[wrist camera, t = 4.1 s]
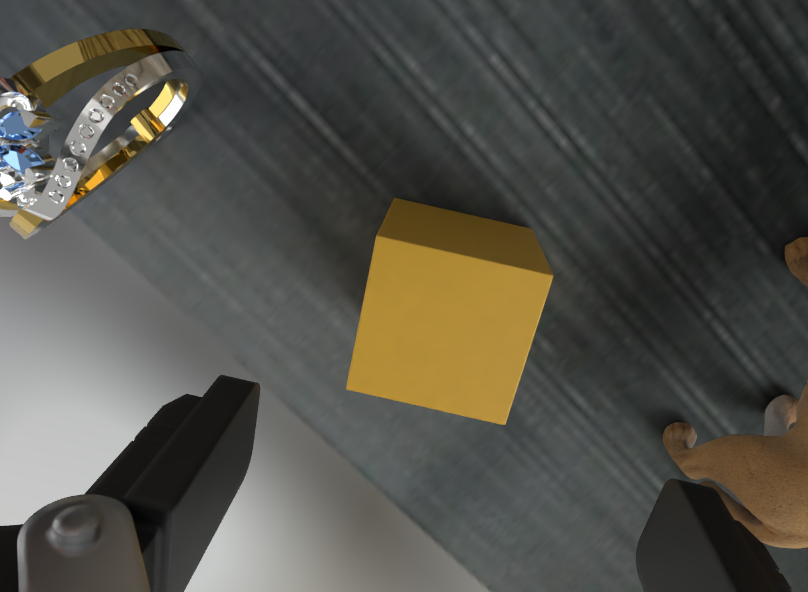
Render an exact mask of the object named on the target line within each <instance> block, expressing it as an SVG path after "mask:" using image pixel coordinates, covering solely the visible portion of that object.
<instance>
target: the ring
mask: <svg viewBox="0 0 808 592" xmlns="http://www.w3.org/2000/svg"><path fill="white" fill-rule="evenodd" d="M130 64H131V65H130ZM125 65H130V66H128V67H126V68H125V69H123V70H122V71H120V72H119V73H118V74H116V75H115V76H114V77H112V78H111V79H110V80H109V81H108V82H107V83H106V84H105V85H104V86H103V87H102V88H101V89H100V90H99V91H98V92H97V93H96V94H95V95H94V96H93V97H92V99H91V100H90V101H89V103H88V104H87V105H86V107H85V108H84V109H83V111H82V112H81V114H80V115H79V117H78V119H77V120H76V122H75V124H74V126H73V127H72V129H71V131H70V133H69V135H68V137H67V139H66V141H65V143H64V146H63V148H62V150H61V153H60V155H59V157H58V160H56V161H55V160H54V159H53V158H52V156H51V155H50V154H49V153H48V152H49V133H50V132H51V130H54V131H56V129H57V128H58V127H59V125H60V124H61V122H62V119H61V118H60V117H58V116H56V115H53V114H50V113H46V111H45V108H48V107H50V106H51V105H52V104H53V103H54V102H55V101H57V100H58V99H59V98H60V97H62V96H63V95H64V94H66V93H67V92H68V91H70V90H71V89H73V88H74V87H76V86H77V85H79V84H81V83H83V82H84V81H86V80H88V79H90V78H92V77H94V76H96V75H98V74H101V73H103V72H105V71H108V70H111V69H114V68H117V67H121V66H125ZM166 80H167V82H166V84H165V87H164V88H163V90H162V92H161V94H160V95H159V96H158V98H157V99H156V100H155V102H154V103H153V104H152V105H151V106H150V108H145V109H144V110H142V111H141V112H140V113H139V114H137V115H136V116H135V117H134V118H133V119H132V120H131V122H130V124H131V126H130V127H129V128H128V129H127V130H126V131H125V132H123V133H122V134H121V135H120V136H119V137H118V138H116V139H115V140H114V141H113V142H111V143H110V144H109V145H108V146H106V147H105V148H104V149H102V150H101V151H100V152H98V153H97V154H96V155H94V156H93V157H91V158H90V159H89V157H90V155H91V153H92V151H93V149H94V147H95V145H96V143H97V142H98V140H99V138H100V136H101V135H102V133H103V131H104V130H105V128H106V127H107V125H108V124H109V123H110V121H111V120H112V119H113V117H114V116H115V115H116V114H117V113H118V112H119V110H120V109H121V108H122V107H123V106H124V105H125V104H126V103H128V102H129V101H130V100H131V99H132V98H134V97H135V96H136V95H138V94H139V93H141V92H142V91H144V90H145V89H147V88H149V87H151V86H153V85H155V84H158V83H160V82H163V81H166ZM202 83H203V74H202V72H201V70H200V69H199V68H198V66H197V65H196V64H195V62H194V61H193V60H192V58H191V57H190V56H189V55H188V54H187V52H186V51H185V50H184V49H183V47H182V46H181V45H180V44H179V43H178V41H176V40H175V39H174V38H173V37H171V36H169V35H167V34H165V33H162V32H158V31H154V30H147V29H127V30H119V31H113V32H108V33H103V34H99V35H96V36H92V37H89V38H86V39H83V40H80V41H77V42H75V43H72V44H70V45H67V46H65V47H63V48H61V49H59V50H56V51H54V52H52V53H50V54H48V55H46V56H45V57H43V58H41V59H39V60H37V61H36V62H34V63H32V64H31V65H29V66H27V67H26V68H24V69H23V70H21V71H20V72H18V73H17V74H15V75H14V76H12V77H11V78H9V79H6V78H0V112H1V111H2V110H3V109H4V108H6V107H8V106H14V107H16V108H17V109H18V110H19V111H15V112H11V113H9V114H7V115H6V116H4V117H3V118H2V119H1V120H0V217H12V216H14V218H13V219H12V221H11V222H10V224H9V226H10V227H11V228H12V229H14V230H15V231H16V232H17V233H18V234H20V235H21V236H22V237H23V238H24V239H28V238H30V237H31V236H33V235H34V234H36V233H37V232H39V231H40V230H42V229H43V228H44V227H46V226H47V225H49V224H50V223H52V222H53V221H54V220H56V219H57V218H59V217H60V216H61V215H63V214H64V213H66V212H67V211H68V210H70V209H71V208H73V207H74V206H75V205H77V204H78V203H79V202H81V201H82V200H84V199H85V198H86V197H88V196H89V195H90V194H92V193H93V192H94V191H96V190H97V189H98V188H99V187H101V186H102V185H103V184H105V183H106V182H107V181H109V180H110V179H111V178H112V177H114V176H115V175H116V174H117V173H119V172H120V171H121V170H122V169H124V168H125V167H126V166H127V165H129V164H130V163H131V162H132V161H133V160H135V159H136V158H137V157H138V156H139V155H140V154H142V153H143V152H144V151H145V150H146V149H148V148H149V147H150V146H151V145H152V144H153V143H154V142H155V141H157V142H158V141H160V140H161V139H163V138H164V137H165V136H166V135H167V134H169V133H170V132H171V131H172V130H173V128H174V126H173V125H174V124H175V123H176V122H177V121H178V120H179V119H180V117H181V116H182V115H183V114H184V113H185V112H186V110H187V109H188V108H189V107H190V105H191V104H192V103H193V101H194V100H195V98H196V97H197V95H198V93H199V91H200V89H201V86H202ZM15 141H16V142H15ZM47 178H50V179H49V181H48V183H46V179H47Z"/></svg>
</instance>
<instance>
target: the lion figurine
mask: <svg viewBox="0 0 808 592" xmlns="http://www.w3.org/2000/svg"><path fill="white" fill-rule="evenodd" d="M785 260H786V263H787V265H788V268H789V270H790V272H791V273H792V274H793V275H794V276H796V277H797V278H798V279H800V281H801V282H802V283H803V284H804V285H806V286H808V237H801V238H798V239H796V240H795V241H794V242H792V243H789V244H787V245H786V246H785ZM795 421H796V423H795V425H794V427H793V428H792V429H791V430H790V431H788V428H789V425H790V424H791V423H793V422H795ZM696 438H697V434H696V432H695V430H694V429H693V427H692V425H691V424H689V423H687V422H686V423H682V422H675V423H672V424H670V425H668V426H667V427H666V428H665V430H664V433H663V443H664V446H665V448H666V450H667V452H668V453H669V455H670V456H671V458H672V459H673V460H674V461H675V462H676V464H677V465H678V467H679V468H680V469H681V470H682V471H683V472H684V473H685V475H686V476H688V477H689V478H691V479H694V480H698V479H702V478H710V479H712V480H715V481H717V482H719V483H722V484H723V485H724V486H726V487H727V488H728V489H729V490H730V491H732V492H733V493H734V494H735V495H736V497H737V498H738V499H739V500H740V501H741V502H742V503H743V504H744V505H745V507H746V508H747V509H748V510H747V509H746V508H745V507H743V506H742V505H740V504H739V503H738V502H736V501H735V500H734V499H732V498H731V497H730V496H729V495H728V494H727V493H726V492H724V491H723V490H722V489H721V488H720V487H719V486H718V485H716V484H715V483H714V482H712V481H703V482H701V483H700V484H699V485H703V486H708V487H712V488H714V489H715V490H716V491H717V492H718V493H719V495H720V497H721V498H722V500H723V502H724V503H725V505H726V507H727V508H728V510H729V512H730V513H731V515H732V517H733V518H734V520H737V521H740V522H741V523H742V524H743V525H744V526H745V527H746V528H747V529H748V530H749V531H750V532H751V533H752V534H753V535H754V536H755V537H756V538H757V539H758V540H760V541H761V542H763V543H766V544H768V545H771V546H775V547H783V548H805V547H808V381H807V383H806V385H805V387H804V389H803V391H802V394H801V396H800V399H799V400H798V399H796V398H794V397H792V396H790V395H781V396H779V397H776V398H775V399H773V400H772V401H771V402H770V403H769V405H768V406H767V408H766V410H765V425H764V435H763V436H762V435H753V434H750V435H726V436H722V437H719V438H717V439H714V440H711V441H709V442H706V443H703V444H701V445H699V446H697V447H694V448H692V447H693V445H694V444H695V441H696Z"/></svg>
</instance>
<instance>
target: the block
mask: <svg viewBox="0 0 808 592" xmlns="http://www.w3.org/2000/svg"><path fill="white" fill-rule="evenodd" d="M552 280H553V273H552V271H551V269H550V267H549V265H548V262H547V260H546V258H545V256H544V254H543V252H542V249H541V247H540V245H539V243H538V241H537V238H536V236H535V234H534V232H533V230H532V229H531V228H526V227H522V226H517V225H513V224H509V223H504V222H500V221H495V220H491V219H487V218H482V217H478V216H473V215H469V214H464V213H460V212H456V211H451V210H447V209H442V208H438V207H434V206H429V205H425V204H420V203H416V202H411V201H407V200H403V199H398V198H394V199H393V202H392V204H391V206H390V208H389V210H388V212H387V214H386V216H385V219H384V221H383V223H382V225H381V227H380V229H379V231H378V233H377V235H376V239H375V244H374V249H373V254H372V259H371V264H370V270H369V275H368V280H367V285H366V290H365V295H364V300H363V305H362V310H361V315H360V320H359V325H358V330H357V335H356V340H355V345H354V350H353V355H352V360H351V365H350V370H349V375H348V380H347V385H346V389H347V390H352V391H356V392H361V393H365V394H369V395H374V396H378V397H383V398H387V399H392V400H396V401H400V402H405V403H409V404H414V405H418V406H422V407H427V408H431V409H436V410H440V411H444V412H449V413H453V414H458V415H462V416H467V417H471V418H475V419H480V420H484V421H489V422H493V423H497V424H502V425H505V424H506V421H507V418H508V415H509V412H510V409H511V406H512V403H513V400H514V396H515V393H516V390H517V387H518V384H519V381H520V378H521V375H522V372H523V369H524V366H525V363H526V360H527V356H528V353H529V350H530V347H531V344H532V341H533V338H534V335H535V332H536V329H537V326H538V323H539V320H540V316H541V313H542V310H543V307H544V304H545V301H546V298H547V295H548V292H549V289H550V286H551V283H552Z"/></svg>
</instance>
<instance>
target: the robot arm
mask: <svg viewBox="0 0 808 592" xmlns="http://www.w3.org/2000/svg"><path fill="white" fill-rule="evenodd" d="M259 396H260V385H259V383H255V382H251V381H247V380H242V379H238V378H233V377H229V376H225V375H220V376H219V377H218V378H217V379H216V381H215V382H214V383H213V384H212V386H211V387H210V388H209V389H208V391H207V392H206V393H205V394H204V396H203V397H198V396H194V395H189V394H185V395H183V396H181V397H180V398H178V399H175V400H174V401H172V402H170V403H168V404H166V405H164V406H162V408H161V409H160V410H159V411H158V412H157V413H156V414H155V415H154V417H153V418H152V419H151V420H150V421H149V423H148V424H147V427H144V428H143V429H142V430H141V431H140V432H139V433H138V435H137V436H136V437H135V440H134V441H132V442H130V444H129V445H128V446H127V447H126V448H125V449H124V450H123V451H122V453H121V454H120V455H119V456H118V457H117V458H116V459H115V460H114V461H113V463H112V464H111V465H110V466H109V467H108V468H107V469H106V471H105V472H104V473H103V474H102V475H101V476H100V477H99V478H98V479H97V481H96V482H95V483H94V484H93V485H92V486H91V487H90V488H89V490H88V491H87V492H86V493H85V494H84V495H77V496H71V497H67V498H63V499H60V500H57V501H55V502H52V503H50V504H48V505H46V506H44V507H43V508H41V509H40V510H38V511H37V512H35V513H34V514H33V515H32V516H31V517H30V518H29V519H28V520H27V521H26V522H25V523H24V524H21V525H10V526H0V592H184V590H185V589H186V586H187V585H188V583H189V581H190V579H191V577H192V575H193V573H194V572H195V570H196V568H197V566H198V564H199V562H200V560H201V559H202V557H203V555H204V553H205V551H206V549H207V547H208V545H209V544H210V542H211V540H212V538H213V536H214V534H215V532H216V531H217V529H218V527H219V525H220V523H221V521H222V519H223V517H224V515H225V514H226V512H227V510H228V508H229V506H230V504H231V502H232V501H233V499H234V497H235V495H236V493H237V491H238V489H239V487H240V486H241V484H242V482H243V480H244V477H245V475H246V472H247V469H248V466H249V463H250V460H251V455H252V449H253V443H254V435H255V427H256V420H257V412H258V404H259ZM636 565H637V572H638V575H639V578H640V581H641V584H642V587H643V590H644V592H791V591H792V589H791V587H790V586H789V584H788V582H787V581H786V579H785V578H784V576H783V574H781V573H779V568H778V566H777V565H776V563H775V562H774V560H773V559H772V557H771V555H770V554H769V552H768V551H767V549H766V547H765V546H764V544H763V543H762V542H761V541H760V540H758V539H757V538H756V537H755V536H754V535H753V534H752V533H751V532H750V531H749V530H748V529H747V528H746V527H745V526H744V525H743V524H742V523H741V522H740V521H737V520H734V518H733V517H732V515H731V513H730V512H729V510H728V508H727V507H726V505H725V503H724V502H723V500H722V498H721V497H720V495H719V493H718V492H717V491H716V490H715V489H714V488H712V487H708V486H703V485H699V484H695V483H690V482H686V481H681V480H677V479H670V480H668V481H667V482H666V483H665V485H664V487H663V488H662V491H661V493H660V495H659V497H658V499H657V502H656V504H655V506H654V508H653V510H652V512H651V515H650V517H649V519H648V521H647V523H646V526H645V528H644V530H643V532H642V534H641V537H640V539H639V542H638V546H637V553H636Z"/></svg>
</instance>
